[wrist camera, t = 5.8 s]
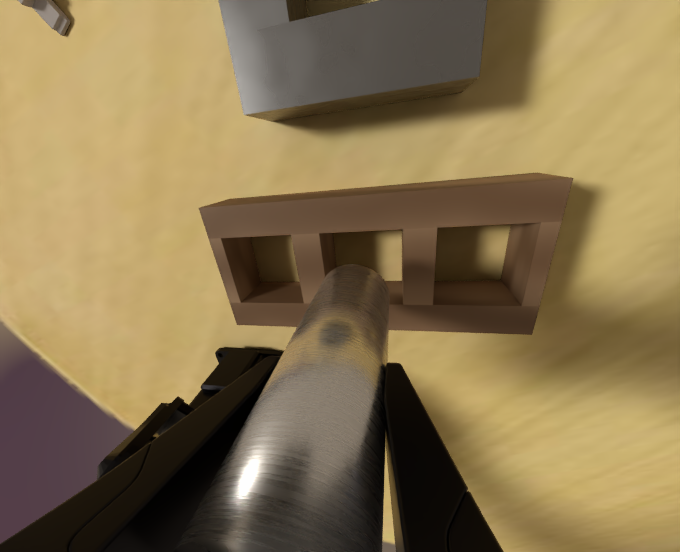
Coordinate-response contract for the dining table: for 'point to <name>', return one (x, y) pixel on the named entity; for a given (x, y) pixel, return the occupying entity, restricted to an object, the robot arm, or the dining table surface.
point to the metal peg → (310, 436)
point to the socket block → (350, 53)
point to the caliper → (49, 14)
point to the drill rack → (417, 249)
